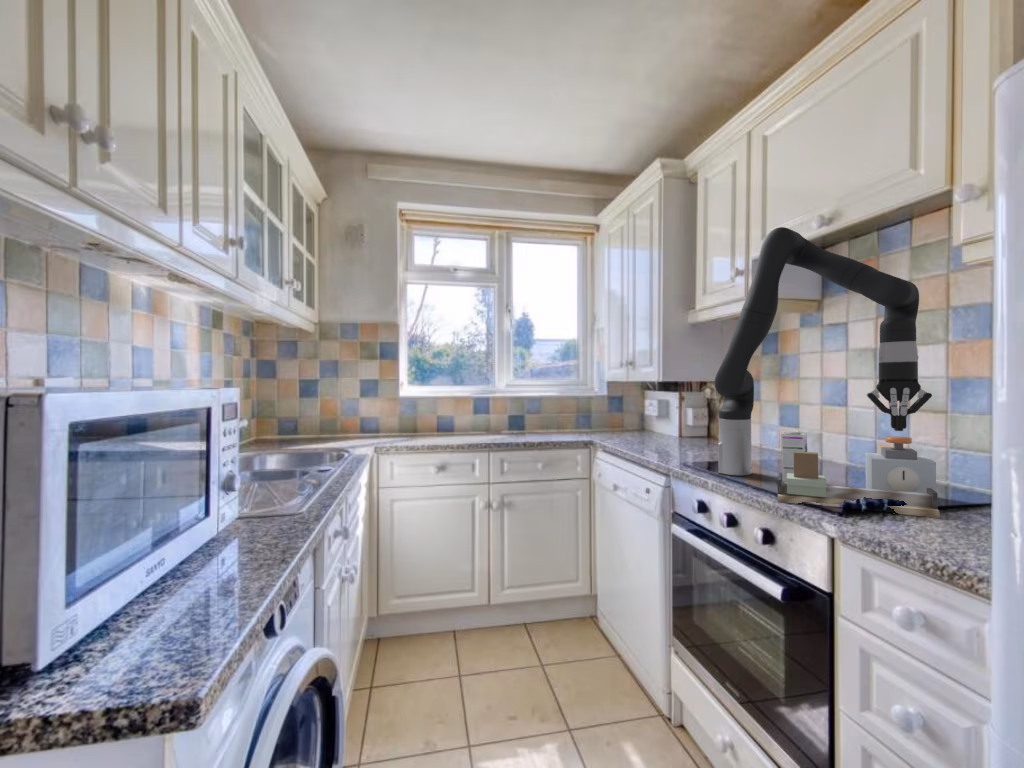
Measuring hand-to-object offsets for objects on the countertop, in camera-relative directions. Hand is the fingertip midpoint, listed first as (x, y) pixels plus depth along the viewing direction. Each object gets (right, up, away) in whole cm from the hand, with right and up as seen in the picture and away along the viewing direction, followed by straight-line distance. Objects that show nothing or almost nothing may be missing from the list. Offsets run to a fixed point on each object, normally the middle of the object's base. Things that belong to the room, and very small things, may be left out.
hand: (898, 430), depth 117 cm
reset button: (0, -5, 0) cm, 5 cm away
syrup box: (-16, -17, +16) cm, 28 cm away
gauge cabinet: (0, -17, 0) cm, 17 cm away
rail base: (-16, -17, -6) cm, 24 cm away
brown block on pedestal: (-24, -15, -1) cm, 28 cm away
